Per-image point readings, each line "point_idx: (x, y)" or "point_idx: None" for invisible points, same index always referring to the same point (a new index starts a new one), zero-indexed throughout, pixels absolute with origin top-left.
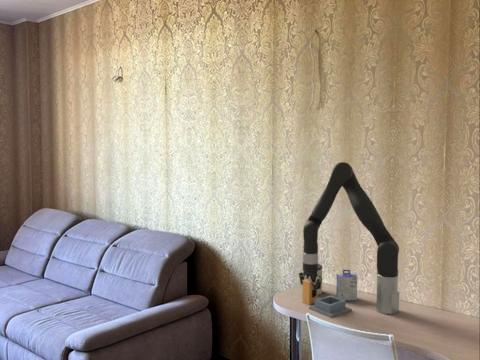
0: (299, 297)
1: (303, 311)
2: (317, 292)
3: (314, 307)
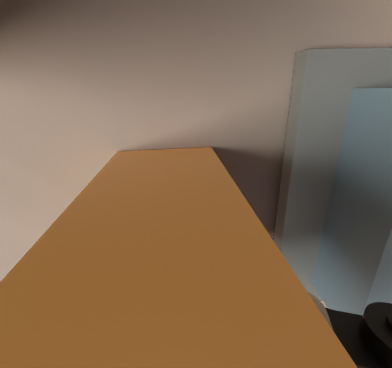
0: (11, 205)
1: None
2: (235, 189)
3: (313, 286)
